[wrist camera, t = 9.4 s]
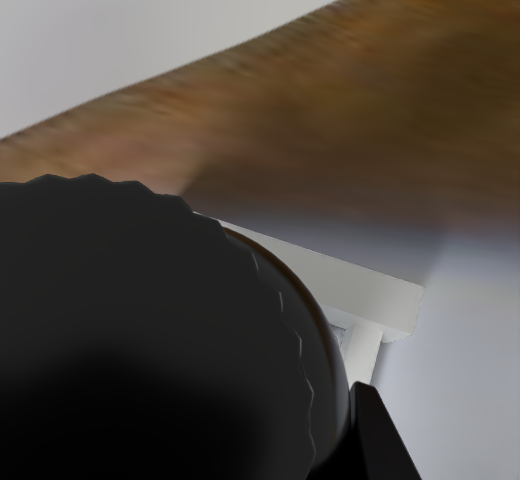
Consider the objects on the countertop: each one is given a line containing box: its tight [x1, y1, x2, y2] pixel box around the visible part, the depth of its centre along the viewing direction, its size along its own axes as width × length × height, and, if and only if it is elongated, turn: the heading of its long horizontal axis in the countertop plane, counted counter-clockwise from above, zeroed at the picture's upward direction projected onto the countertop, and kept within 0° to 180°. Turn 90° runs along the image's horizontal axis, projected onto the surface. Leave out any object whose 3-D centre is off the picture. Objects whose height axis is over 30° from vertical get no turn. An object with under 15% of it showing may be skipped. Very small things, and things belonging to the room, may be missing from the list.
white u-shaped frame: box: [193, 212, 424, 391], centre depth 18 cm, size 12×13×4 cm
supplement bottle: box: [0, 173, 352, 480], centre depth 9 cm, size 7×7×12 cm
